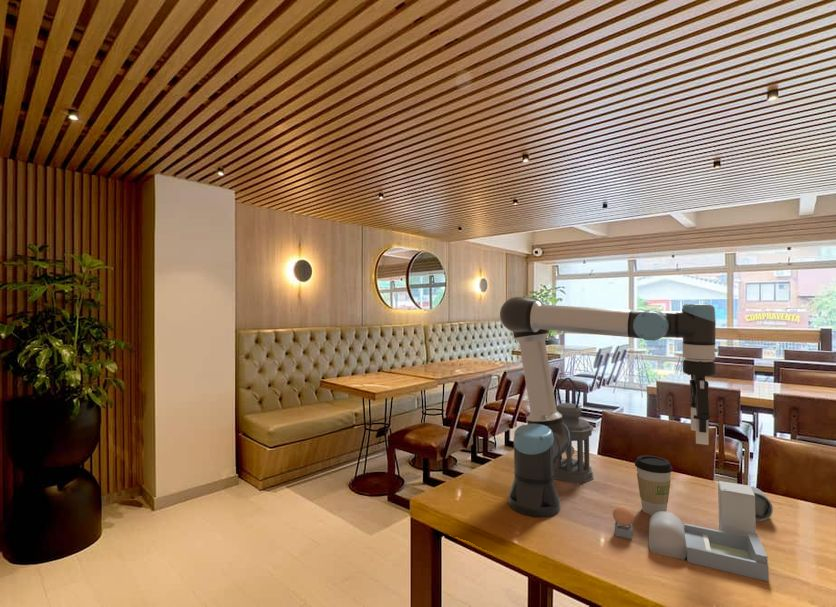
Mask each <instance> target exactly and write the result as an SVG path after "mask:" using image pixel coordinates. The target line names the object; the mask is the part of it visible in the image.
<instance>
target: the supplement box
mask: <svg viewBox="0 0 836 607" xmlns="http://www.w3.org/2000/svg"><path fill="white" fill-rule="evenodd" d="M717 491H718V492H717V495H718V496H717V497H718V500H717V501H718V530H719V531H724V532H729V533H734V534H738V535H743V536H747V532H752V533H757V530H756V529H757V527H756V522H757V521H756V518H755V495H754V492H753V490H752V488H751V485H747V484H741V483H737V482H736V483H735V482H727V481H722V480H718V482H717Z"/></svg>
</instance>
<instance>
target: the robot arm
mask: <svg viewBox="0 0 836 607" xmlns="http://www.w3.org/2000/svg"><path fill="white" fill-rule="evenodd" d="M499 318H500V319H499V320H500V321H501V323H502V325H503V326H504V327H505V329H507V330H508V331H511V332H512V335H513V339H514V340H516V342H518V344H519V349H520V355H521V361H522V368H523V375H524V381H525V386H526V393H527V399H528V405H529V412H530V413H529V414H528V416H527V417H526V421H527V422H526V423H527V424H522V425H519V426H518V427H517V428H515V430H514V434H513V441H512V442H513V460H514V461H513V463H514V464H513V468H514V470H513V471H514V472H513V473H514V479H513V482H512V484H511V487H510V488H511V489H510V491H509V494H508V504H509V506H510V508H512V509H513V510H514V511H515V512H517V513H520V514H523V515H525V516H530V517H537V518H539V517H540V518H543V517H551V516H554V515H556V514H558V513H559V512H560V510H561V500H560V496H559V493H558V490H557V488H556V487H557V486H556V484H555V479H554V468H553V462H554V460H556V459H557V458H558V457H559V456H560V455H562V456H563V454H564V453H565V451H566V449H567V447H568V445H569V442H570V433H569V430H568V428H567V426H566V425H565V424H564V423H563V417H562V414H560V413H559V412H558V411H557V410H556V407H557V403H556V398H555V392H554V386H553V381H552V374H551V368H550V364H549V363H550V362H549V356H548V351H547V344H546V338H547V337H548V335H549V331H556V332H565V333H569V332H570V333H579V334H580V333H581V334H588V335H589V334H590V335H602V336H612V337H623V338H632V339H640V340H641V339H642V340H645V341H659V340H661V339H662V338H676V339H677V338H682V358H683V361H682V372H683V373H684V374H687V375H690V379H689V386H690V390H689V391H690V399H689V402H690V404H689V405H690V430H691V431H695V444H696V445H697V444H698V445H703V446H704V445H705V446H709V444H710V443H709V442H710V441H709V438H710V437H709V434H710V433H709V432H710V430H709V427H710V425H709V420H710V419H711V416H710V405H709V404H710V403H709V387H710V386H709V381H708V380H706V376H708V377H710V376H711V377H713V376H715V375H716V373H717V372H716V371H717V370H716V366H717V365H716V362H715V361H714V360H716V353H718V352H719V349H718V348H717V347H716V325H717V324H716V308H715V306H714V305H713V304H709V303H699V304H698V303H697V304H696V303H693V304H692V303H690V304H689V303H686V304H684V305H682V309H681V310H676V311H675V310H674V311H673V310H636V309H618V308H602V307H588V306H571V305H570V306H569V305H555V304H554V305H553V304H552V305H551V304H545V303H544V301H542V300H541V299H538V298H536V297H532V296H528V297H527V296H523V297H522V296H515V297H511V298H509V299H506V301H504V303H503V304H502V306H500V311H499Z"/></svg>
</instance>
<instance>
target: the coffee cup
mask: <svg viewBox="0 0 836 607" xmlns="http://www.w3.org/2000/svg"><path fill="white" fill-rule="evenodd" d="M634 465H635V467H636V472H637V473H636V476H637V477H636V478H637V484H638V492H639V498H640V501H641V508H642V512H643V513H646V514H647V515H650V516H652V515H653V514H654V513H656V512H659V511H666V512H668V503H669V499H670V498H669V496H670V487H671V486H670V485H671V473H672V472H673V466H672V465H671V463H670V461H669V460H668V459H666V458H663V457H661V456H655V455H644V454H643V455H638V456H637V458H636V460H635V461H634Z"/></svg>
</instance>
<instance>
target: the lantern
mask: <svg viewBox="0 0 836 607" xmlns="http://www.w3.org/2000/svg"><path fill="white" fill-rule="evenodd" d="M567 380H568V381H569V382H570V383H571V384H572V386H574V388H575V390H577V393H578V394H577V399H576V403H573V402H564V403H562V400H561V399H562V398H561V395H560V394H561V393H560V387H561V386H562V385H563V384H564V383H565V382H566V381H567ZM556 392H557V398H558V402H559V403H558V404H557V405H556V410H557V411H558V412H559V413H560V414H562V417H563V423H564V424H565V425H566V426H567V428H568V430H569V433H570V442H569V445H568V447H567V449H566V451H565V452H564V453H565V455H566V458H564V457H563V454H562V455H560V456H559V457H558V458H557V459H556V460H554V462H553V468H554V480H558V481H561V482H565V483H569V484H570V483H571V484H572V483H573V484H575V483H576V484H577V483H580V484H582V483H587V482H590V481H593V480H594V479H595V478H594V472H593V471H592V469H593V468H592V466H590V437H591V436H592V435H593V434H592V431H594V427H593V424H591V423H590V422H589V421H587V420H586V419H583V418H582V417H581V416H582V407H581V406H580V405H579V404H580V398H581V389H580V388H579V387H578V386H577V385H576V384H575V382H574V381H573V380H572V379H571V378H570V377H566V378H564V379H563V380H562V381H561V382H560V383H558V385H557V386H556ZM572 442H576V443H577V444H576V445H577V446H576V450H577V451H576V453H577V455H576V456H577V459H576V458H575V459H574V458H573V455H574V454H575V448H574V447H573V443H572Z"/></svg>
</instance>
